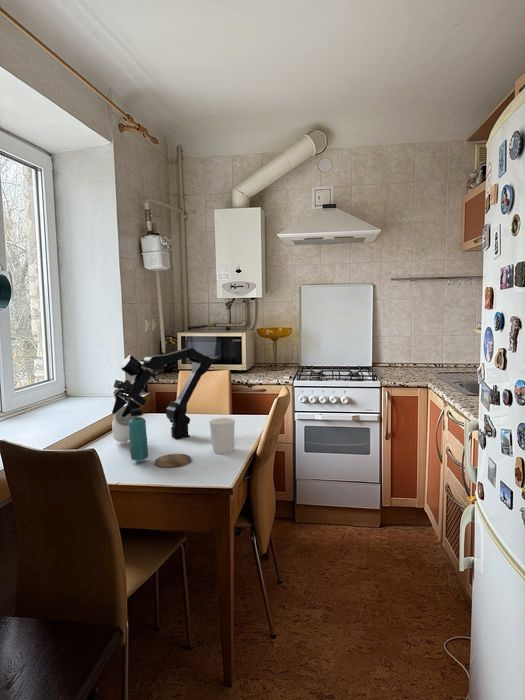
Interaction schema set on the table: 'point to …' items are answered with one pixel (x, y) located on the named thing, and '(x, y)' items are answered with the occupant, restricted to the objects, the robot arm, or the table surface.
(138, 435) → the beverage bottle
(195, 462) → the table surface
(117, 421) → the jar
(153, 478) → the table surface
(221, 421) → the white cup
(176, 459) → the walnut coaster
